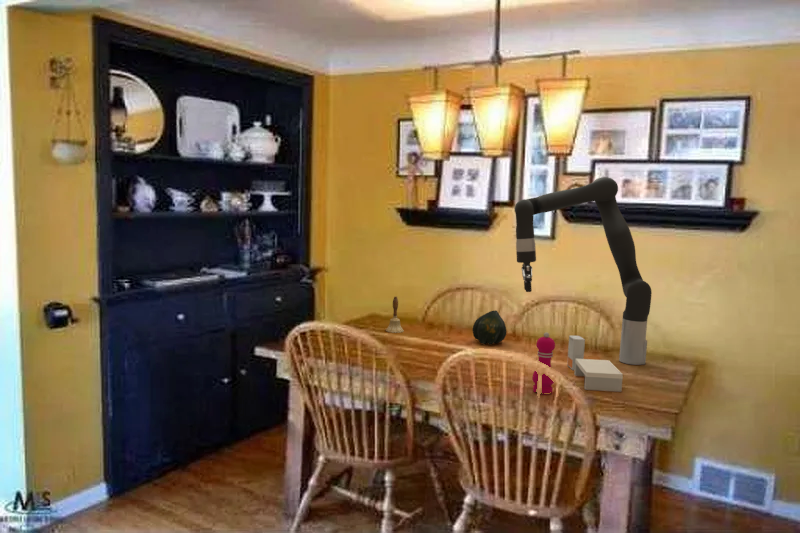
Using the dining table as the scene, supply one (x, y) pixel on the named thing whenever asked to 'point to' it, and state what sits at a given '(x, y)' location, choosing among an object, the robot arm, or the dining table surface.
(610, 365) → the shelf bench
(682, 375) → the dining table surface
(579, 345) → the skincare box
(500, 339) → the squash
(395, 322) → the hand bell
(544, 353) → the pepper mill
